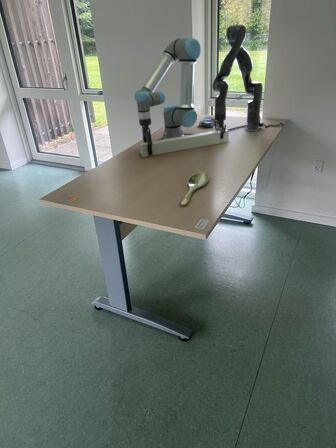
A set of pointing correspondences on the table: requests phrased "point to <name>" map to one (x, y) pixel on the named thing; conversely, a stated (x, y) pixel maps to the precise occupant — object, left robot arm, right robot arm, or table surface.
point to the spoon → (195, 184)
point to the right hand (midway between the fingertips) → (220, 137)
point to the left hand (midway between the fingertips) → (148, 152)
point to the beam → (184, 142)
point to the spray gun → (207, 121)
